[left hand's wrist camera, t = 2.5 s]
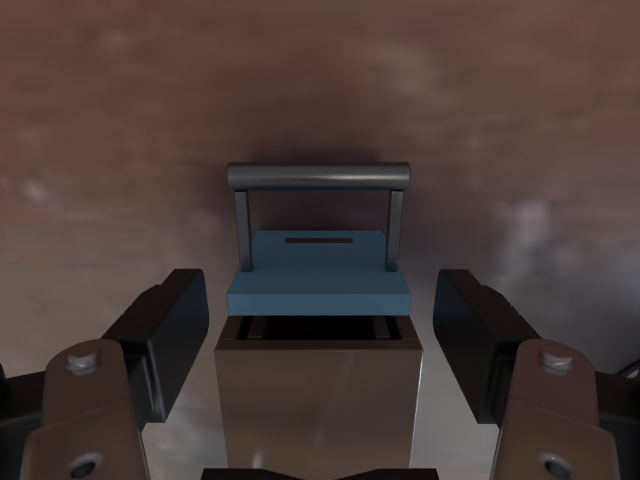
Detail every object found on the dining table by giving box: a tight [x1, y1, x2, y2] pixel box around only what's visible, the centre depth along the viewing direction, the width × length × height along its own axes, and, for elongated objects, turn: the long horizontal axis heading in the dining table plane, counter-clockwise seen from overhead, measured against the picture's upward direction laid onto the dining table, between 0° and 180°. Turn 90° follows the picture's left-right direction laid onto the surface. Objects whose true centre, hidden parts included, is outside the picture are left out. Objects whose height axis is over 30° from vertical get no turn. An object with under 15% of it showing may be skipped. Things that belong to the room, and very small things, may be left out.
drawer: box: [226, 162, 411, 340], centre depth 24 cm, size 24×9×9 cm, turn 0°
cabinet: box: [214, 315, 424, 480], centre depth 27 cm, size 20×10×11 cm, turn 0°
